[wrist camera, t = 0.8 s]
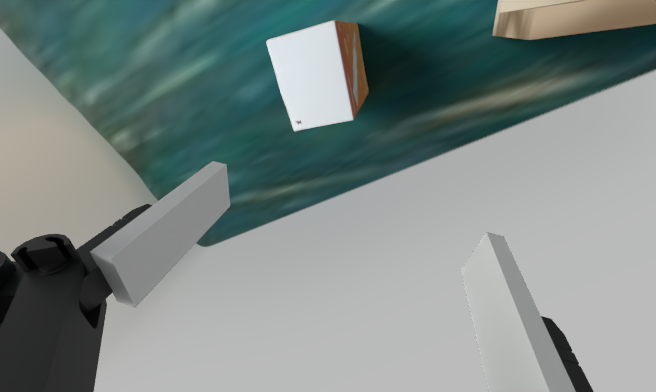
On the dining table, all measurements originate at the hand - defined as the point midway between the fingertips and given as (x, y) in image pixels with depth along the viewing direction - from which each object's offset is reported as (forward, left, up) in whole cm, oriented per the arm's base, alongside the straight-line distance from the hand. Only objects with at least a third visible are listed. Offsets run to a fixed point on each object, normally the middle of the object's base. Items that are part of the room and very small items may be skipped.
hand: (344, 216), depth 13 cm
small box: (-5, -5, -26) cm, 27 cm away
